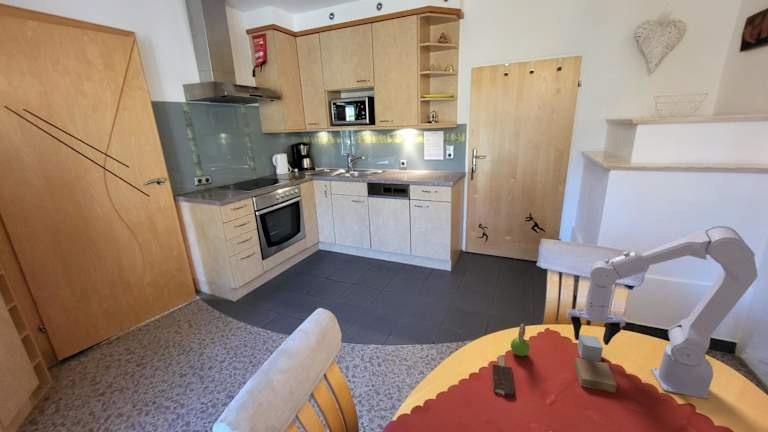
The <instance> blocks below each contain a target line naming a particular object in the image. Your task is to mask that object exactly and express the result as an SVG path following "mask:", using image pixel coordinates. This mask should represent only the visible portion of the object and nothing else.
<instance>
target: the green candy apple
mask: <svg viewBox="0 0 768 432" xmlns="http://www.w3.org/2000/svg"><path fill="white" fill-rule="evenodd" d="M525 334H526V325H525V323H521V324H520V326H519V329H518V335H517V337H515V338H513V339H512V340H511V342H510V349H511V351H512V352H513V354H514V355H516V356H519V357H525V356H527V355H528V354H529V353H530V350H531V346H530V343H529V341H528V340H527V339H525Z"/></svg>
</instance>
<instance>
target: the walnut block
mask: <svg viewBox="0 0 768 432" xmlns="http://www.w3.org/2000/svg"><path fill="white" fill-rule="evenodd" d="M574 369H575V372H576V375H577V379H578V382H579V385H580V387H583V388H588V389H589V388H590V389H594V390H599V391H604V392H609V393H614V394H615V393H616V389H617V381H616V380H615V377H614V375H613V373H612V371H611V369H610V365H609V363H607V362H602V361H600V362H599V361H593V360H588V359H582V358H581V357H574Z"/></svg>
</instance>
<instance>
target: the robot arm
mask: <svg viewBox="0 0 768 432" xmlns="http://www.w3.org/2000/svg"><path fill="white" fill-rule="evenodd" d="M622 253H623V254H622V255H619V256H616V257H613V258H611V259H610V258H605V259H604V260H598V261H595V263H593V264H592V266H591V268H590V269H591V270H590V279H589V283H588V287H587V293H586V300H585V305H584V308H574V309H573V308H566V313H565V314H566V318H568V319H571V322H572V326H573V334H574V335H573V337H574V339H575V341H578V340H579V334H580V333H581V332H580V331H581V329H582V326H583V324H582V320H587V321H590V322H593V323H597V324H605V327H604V333H603V338H602V341H603V343H604V345H605V346H608V345H609V343H611V340H612V339H613V338H614V337H615V336H616V335H617V334H619V333H620V332H621V331H622V327H625V326H626V318H625V317H624V316H623V315H617V314H613V313H610V312H609V311H610V306H611V300H612V294H613V286H614V285H615V284H616V282H617V281H618V280H623V279H627V278H629V277H633V276H636V275H640V274H643V273H646V272H648V270H649V268H650V266H652V265H656V264H660V263H665V262H668V261H672V260H674V259H680V258H683V257H687V256H690V257H693V258H697V259H702V260H704V261H705V260H708V258H707V256H709V257H710V258H711V259H712V260H713V261H714V262H716V263H718V264H719V265H720V267H721V268H722V270H721V273H720V274H719V275H718V276H717V278H716V279H715V280H714V281H713V283H712V284H711V286H710V287H709V289H708V290H707V291H706V293H705V294H704V295H703V297H702V298H701V299H700V301H699V302H698V304H696V306H695V307H694V308H693V310H692V312H691V313H690V314H689V316H688V317H687V318H684V319H681V320H680V321H679V323H678V324H676V325H673V326H671V327H670V328H669V329H668V331H667V335H668V339H669V343H668V344H667V345H666V346H665V347H664V351H663V354H662V358H661V362H660V365H659V368H655V367H651V369H650V370H651V372H652V374H653V375H654V376H655V377H654V378H656V380H657V382H658V383H659V385H660V387H661V389H662V390H663V391H665V392H669V393H675V394H681V395H685V396H690V397H697V398H702V399H707V400H708V399H709V397H710V396H709V395H708V393H709V390H710V387H711V384H712V382H713V378H714V370H713V366H712V364H711V362H710V360H709V359H707V358H706V353H707V350H709V348H710V343H711V338H712V335H713V333H714V332H715V331H716V329H717V328H718V327H719V326H720V325H721V324H722V322H723V321H724V320H725V318H726V317H727V316H728V314H730V312H731V311H732V310H733V308H735V306H736V305H737V304H738V302H739V301H740V300H741V299H742V297H743V296H744V295H745V294H746V293H747V291H748V289H750V287H751V286H752V285H753V284H754V283H755V281H756V280H757V279H758V276H759V273H758V268H757V265H756V259H755V255H756V253H755V252H754V251H753V250H752V248H751V247H750V246H749V245H748V244H747V243H746V242H745V240H744V239H743V237H742V236H740V235H739V233H738V232H737V230H735V229H734V228H732V227H729V226H725V225H716V226H711V227H708V228H707V229H706V230H705V229H702V230H697V231H695V232H692V233H691V234H688V235H687V236H684V237H681V238H679V239H676V240H674V241H671V242H669V243H665V244H663V245H660V246H659V247H655V248H653V249H651V250H648V251H645V252H641V251H636V250H634V251H631V252H630V251H628V250H627V251H623V252H622ZM581 319H582V320H581ZM621 326H622V327H621Z"/></svg>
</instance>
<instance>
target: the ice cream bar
mask: <svg viewBox="0 0 768 432" xmlns="http://www.w3.org/2000/svg"><path fill="white" fill-rule="evenodd" d="M497 363H498V364H492V367H493V368H492V380H493V381H492V382H494V385H493V394H494V393H495V392H496V393H497V392H498V394H500V395H502V396H503V397H504V398H508V399H512V398H515V395H516V389H515V383H514V376H513V375H514V374H513V368H512V367H511V366H506V365H505V357H504V356H503V355H498V356H497Z"/></svg>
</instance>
